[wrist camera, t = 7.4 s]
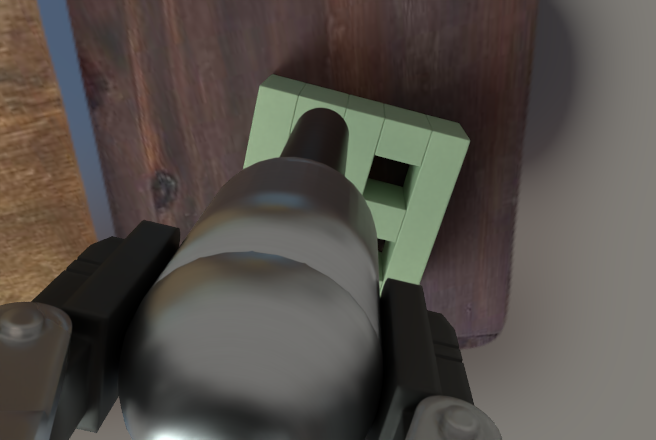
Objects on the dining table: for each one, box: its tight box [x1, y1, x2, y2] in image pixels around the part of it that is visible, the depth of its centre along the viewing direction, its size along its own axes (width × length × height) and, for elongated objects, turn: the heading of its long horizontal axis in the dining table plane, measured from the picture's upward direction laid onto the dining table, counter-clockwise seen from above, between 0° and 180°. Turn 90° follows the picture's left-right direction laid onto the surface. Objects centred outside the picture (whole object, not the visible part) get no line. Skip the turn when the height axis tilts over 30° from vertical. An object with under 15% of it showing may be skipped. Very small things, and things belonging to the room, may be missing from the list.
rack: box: [243, 74, 470, 296], centre depth 42 cm, size 14×14×5 cm
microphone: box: [118, 108, 383, 440], centre depth 16 cm, size 4×4×18 cm
